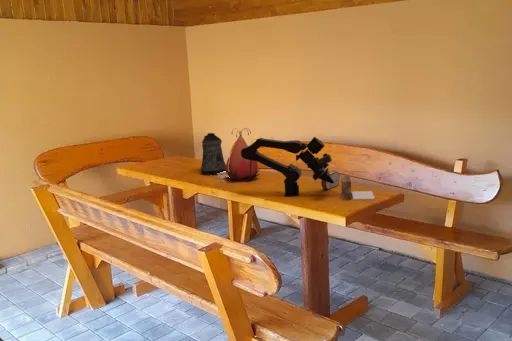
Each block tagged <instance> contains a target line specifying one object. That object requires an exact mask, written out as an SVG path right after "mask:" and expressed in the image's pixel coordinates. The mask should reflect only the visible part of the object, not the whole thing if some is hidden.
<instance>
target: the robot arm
mask: <svg viewBox="0 0 512 341" xmlns="http://www.w3.org/2000/svg"><path fill="white" fill-rule="evenodd" d="M261 147H262V148H269V149H277V150H283V151H285V152H288V153H291V154H295V161H299V160H301V161H302V162H303V163H304V164H305V165H306V166H307V169H310V170H311V171H312V173H313V174H312V179H313V180H314V181H315V182H316V181H317V180H321V181H322V180H324V181H327V182H329V183H332V184H333V183H334V181H333V179H332V178H331V176H330V175H329V173H328V172H329V166H330V164H329V163H331V162H332V161H333V159H332V155H330V154H329V153H327V152H326V153H323V155H322V157H320V158H319V157H318V156H315V155H318V153H320V151H322V149H323V148H325V147H326V145H325V144H324V142H323V141H322V140H320V139H319V138H317V137H316V136H313V138H312V139H311V140H310V141H309V143H306V142H302V141H300V140H286V141H285V140H284V141H283V140H279V139H269V138H263V137H259V138H257V139H256V140H255V141H254V142H253V143H251V144H250V145H248V146H247V147H245V148H243V149H242V150H241V156H242V158H244V159H247V160H251V161H257V163H259V164H262V165H264V166H266V167H267V168H269V169H272V170H275V172H276V171H277V172H278V173H280V174H281V175H283V176H284V177H285V178H284V180H283V184H284V196H285V197H298V195H299V194H300V192H299V191H300V186H299V183H298V180H299V179H300V178H301V176H302V170H301V169H300V168H299V167H298V166H296V165H294V164H292V163H290V164H289V165H286V164H283V163H281V162H279V161H277V160H275V159H273V158H271V157H268V156H267V155H264V154H262V153H261V152H260V151H259V150H258V149H260V148H261Z"/></svg>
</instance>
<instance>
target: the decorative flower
mask: <svg viewBox="0 0 512 341" xmlns="http://www.w3.org/2000/svg"><path fill="white" fill-rule="evenodd" d="M235 129H236V130H237V131H236V133H235V134H236V135H235V137H236V138H237V139H236V141H235V143H234V145H233V148H232V150H231V153H230V155H229V157H228V158H227V160H226V163H225V165H226V168H225V167H224V168H225V171H226V173H225V174H226V175H224V177H225V178H227V179H229V181H231V182H237V181H241V180H243V181H246V180H250V181H251V180H258V179H259V177H258V176H259V175H261V173H259V171H260V169H261V167H258V166H259V165H258V162H257V161H251V160H247V159H244V158H242V156H241V150H242V149H243V148H245V147H247V146H249V145H248V144H247V142H246V140H245V138H244V137H243V136H242V132H243V131H244V130H246V131H247V136H249V135H250V134H252V133H251V129H249V128H248V127H245V128H243V129H242V130H239V129H238V128H233V129H232V131H231V135H233V133H234V130H235ZM238 133H239V136H238ZM226 176H229V177H230V178H229V177H226Z"/></svg>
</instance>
